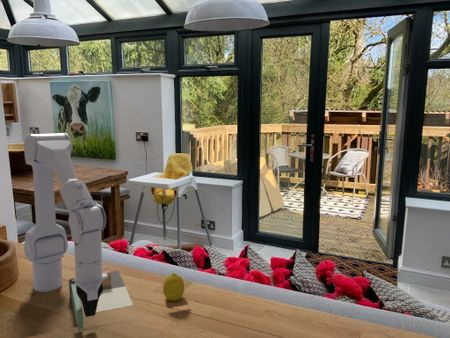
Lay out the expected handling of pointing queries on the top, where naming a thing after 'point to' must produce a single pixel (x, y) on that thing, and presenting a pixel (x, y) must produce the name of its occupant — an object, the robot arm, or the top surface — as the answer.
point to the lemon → (173, 287)
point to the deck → (114, 294)
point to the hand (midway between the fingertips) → (90, 314)
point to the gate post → (71, 281)
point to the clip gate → (77, 307)
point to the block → (108, 281)
